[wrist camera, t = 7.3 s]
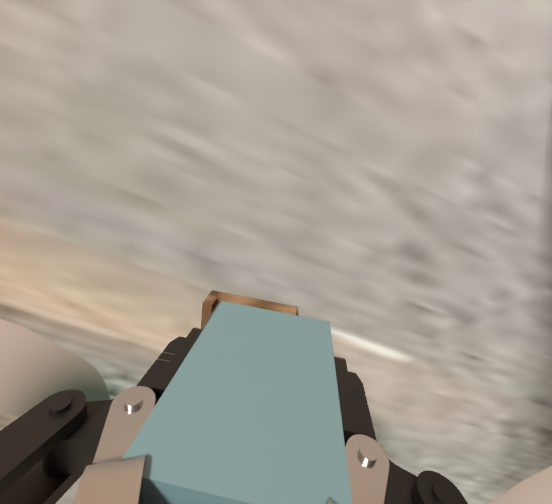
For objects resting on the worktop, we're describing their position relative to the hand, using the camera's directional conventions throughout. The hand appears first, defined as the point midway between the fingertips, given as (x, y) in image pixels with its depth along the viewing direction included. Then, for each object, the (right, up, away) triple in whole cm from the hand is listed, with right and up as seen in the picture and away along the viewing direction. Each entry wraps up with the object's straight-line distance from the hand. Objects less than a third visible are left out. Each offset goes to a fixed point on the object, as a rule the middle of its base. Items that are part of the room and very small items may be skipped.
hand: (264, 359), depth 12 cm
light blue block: (0, +1, +2) cm, 2 cm away
